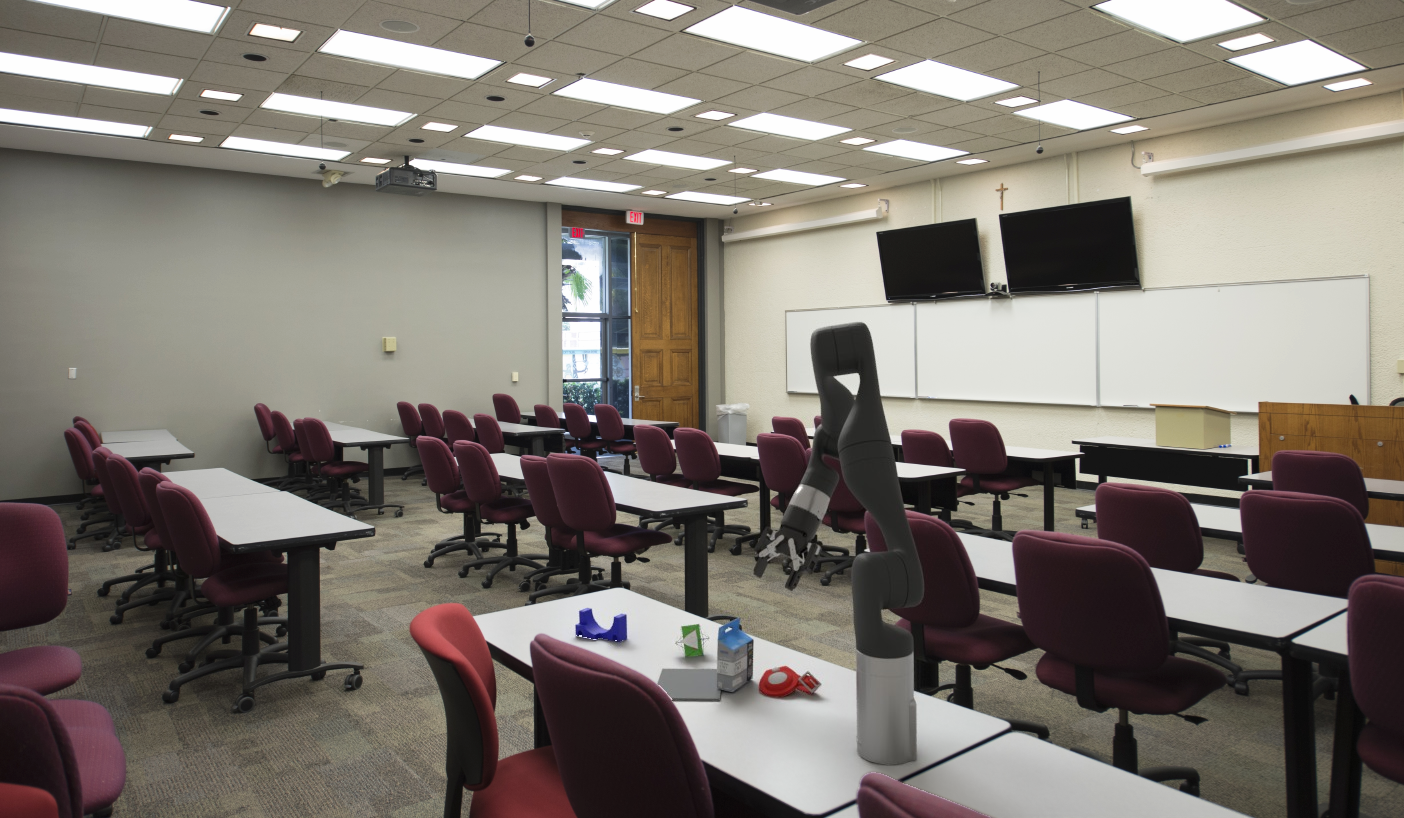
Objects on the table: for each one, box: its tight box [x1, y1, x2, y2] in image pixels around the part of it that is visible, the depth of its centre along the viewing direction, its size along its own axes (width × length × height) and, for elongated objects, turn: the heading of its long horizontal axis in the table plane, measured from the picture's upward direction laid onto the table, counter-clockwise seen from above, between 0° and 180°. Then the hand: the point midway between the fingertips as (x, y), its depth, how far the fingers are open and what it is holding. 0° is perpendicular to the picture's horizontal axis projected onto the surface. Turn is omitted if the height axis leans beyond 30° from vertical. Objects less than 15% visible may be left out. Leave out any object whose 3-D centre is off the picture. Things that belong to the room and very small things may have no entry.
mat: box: [656, 668, 722, 702], centre depth 172 cm, size 13×16×1 cm
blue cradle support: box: [575, 607, 628, 643], centre depth 204 cm, size 12×4×6 cm, turn 58°
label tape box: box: [716, 617, 755, 693], centre depth 171 cm, size 9×4×12 cm, turn 149°
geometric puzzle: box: [674, 623, 709, 658], centre depth 190 cm, size 7×7×8 cm
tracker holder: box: [758, 665, 822, 698], centre depth 170 cm, size 12×4×10 cm
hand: (772, 582), depth 173 cm, fingers open, 8 cm apart
